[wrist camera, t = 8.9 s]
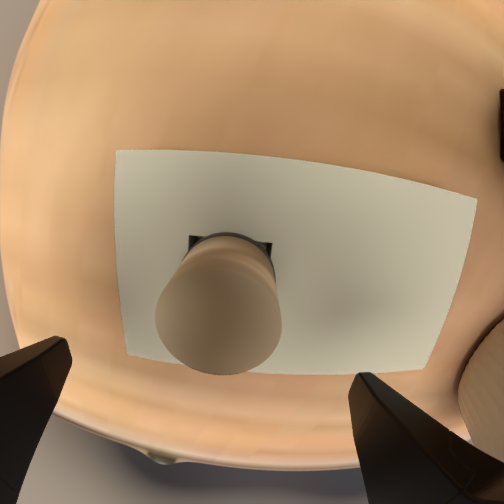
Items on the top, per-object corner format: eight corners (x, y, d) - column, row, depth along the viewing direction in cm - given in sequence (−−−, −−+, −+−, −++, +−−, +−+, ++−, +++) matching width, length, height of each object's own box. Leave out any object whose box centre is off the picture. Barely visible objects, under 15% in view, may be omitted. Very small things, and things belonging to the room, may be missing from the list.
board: (446, 191, 16) (477, 199, 13) (405, 342, 20) (423, 368, 16) (141, 151, 16) (116, 149, 12) (144, 326, 19) (127, 355, 16)
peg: (276, 225, 16) (293, 272, 9) (267, 301, 17) (273, 380, 11) (192, 217, 16) (150, 258, 9) (190, 293, 17) (158, 367, 11)
